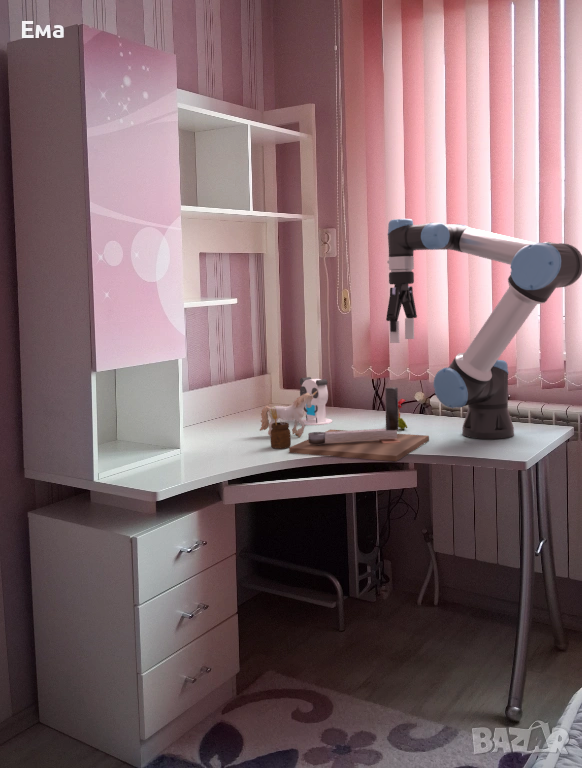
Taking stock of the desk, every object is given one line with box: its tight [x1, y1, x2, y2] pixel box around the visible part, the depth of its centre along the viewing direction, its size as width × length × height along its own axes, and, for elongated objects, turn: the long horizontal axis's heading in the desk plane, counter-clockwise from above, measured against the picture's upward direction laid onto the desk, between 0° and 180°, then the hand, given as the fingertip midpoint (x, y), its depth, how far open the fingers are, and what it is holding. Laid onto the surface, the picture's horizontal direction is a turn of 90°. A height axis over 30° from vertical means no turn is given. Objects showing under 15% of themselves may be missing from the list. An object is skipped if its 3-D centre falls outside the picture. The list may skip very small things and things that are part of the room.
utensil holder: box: [269, 408, 292, 450], centre depth 233 cm, size 6×6×12 cm
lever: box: [307, 386, 399, 444], centre depth 228 cm, size 26×5×14 cm, turn 97°
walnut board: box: [288, 429, 430, 462], centre depth 231 cm, size 32×28×2 cm
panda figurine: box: [299, 376, 333, 426], centre depth 272 cm, size 12×11×15 cm
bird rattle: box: [398, 398, 408, 430], centre depth 256 cm, size 6×11×9 cm
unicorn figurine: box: [259, 391, 318, 438], centre depth 249 cm, size 7×20×13 cm, turn 101°
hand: (402, 340), depth 245 cm, fingers open, 13 cm apart
